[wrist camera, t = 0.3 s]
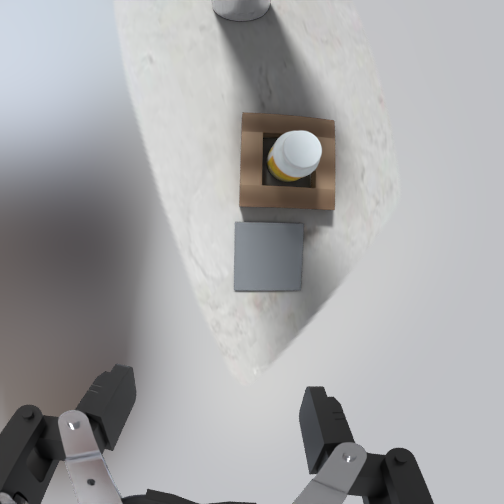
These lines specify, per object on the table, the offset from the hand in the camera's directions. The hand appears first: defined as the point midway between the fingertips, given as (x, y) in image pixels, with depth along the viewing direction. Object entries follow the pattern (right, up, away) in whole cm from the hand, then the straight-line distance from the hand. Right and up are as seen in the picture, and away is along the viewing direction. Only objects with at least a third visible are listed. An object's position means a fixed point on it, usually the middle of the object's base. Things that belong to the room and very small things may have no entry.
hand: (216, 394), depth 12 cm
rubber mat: (+4, +6, +27) cm, 28 cm away
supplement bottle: (+6, +18, +25) cm, 32 cm away
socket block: (+6, +18, +25) cm, 32 cm away
